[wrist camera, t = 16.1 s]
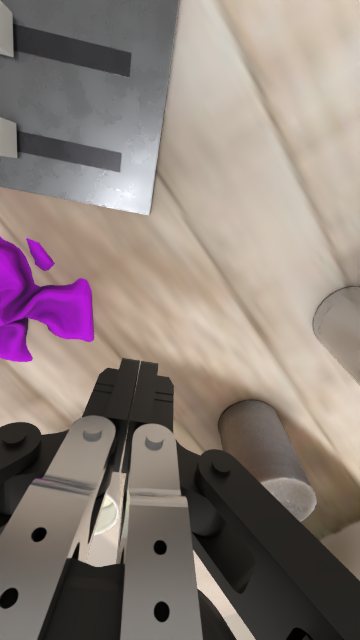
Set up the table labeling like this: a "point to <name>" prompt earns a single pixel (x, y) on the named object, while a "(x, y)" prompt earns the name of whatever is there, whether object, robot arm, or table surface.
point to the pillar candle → (267, 454)
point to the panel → (87, 98)
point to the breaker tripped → (6, 31)
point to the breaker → (8, 138)
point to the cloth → (38, 302)
